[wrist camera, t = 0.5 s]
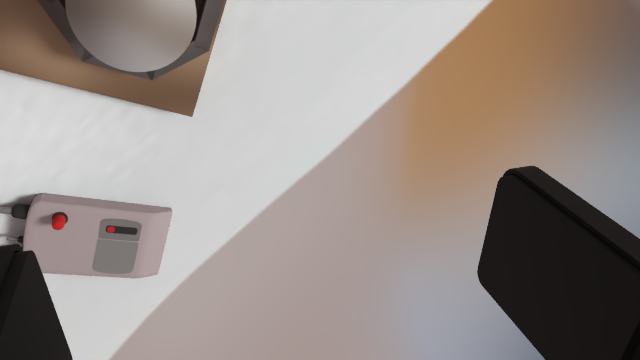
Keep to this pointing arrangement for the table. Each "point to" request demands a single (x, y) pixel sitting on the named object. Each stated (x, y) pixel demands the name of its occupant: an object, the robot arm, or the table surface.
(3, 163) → the table surface
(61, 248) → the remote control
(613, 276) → the robot arm
